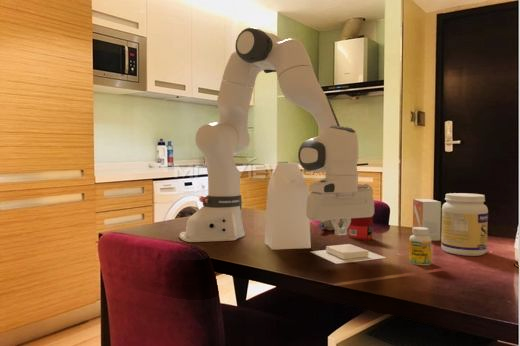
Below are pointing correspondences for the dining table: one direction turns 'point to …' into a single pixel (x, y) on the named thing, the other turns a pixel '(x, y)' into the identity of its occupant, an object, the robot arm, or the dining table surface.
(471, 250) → the supplement tub
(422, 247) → the supplement bottle
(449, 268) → the dining table surface
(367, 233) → the canned food
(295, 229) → the milk
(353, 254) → the tile
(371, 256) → the mat
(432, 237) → the small box
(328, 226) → the decorative bottle
